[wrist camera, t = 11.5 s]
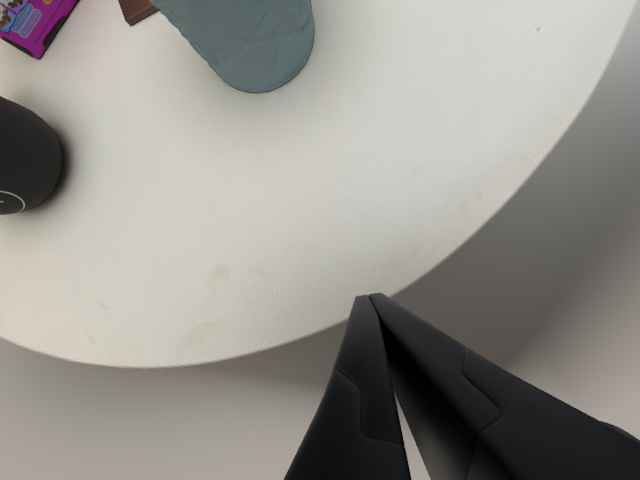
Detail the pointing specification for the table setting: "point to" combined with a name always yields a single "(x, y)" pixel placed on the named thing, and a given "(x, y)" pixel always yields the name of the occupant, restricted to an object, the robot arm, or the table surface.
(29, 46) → the candy bar box
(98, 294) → the table surface
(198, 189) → the table surface
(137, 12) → the walnut ruler
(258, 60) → the blue cup
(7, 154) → the mug
